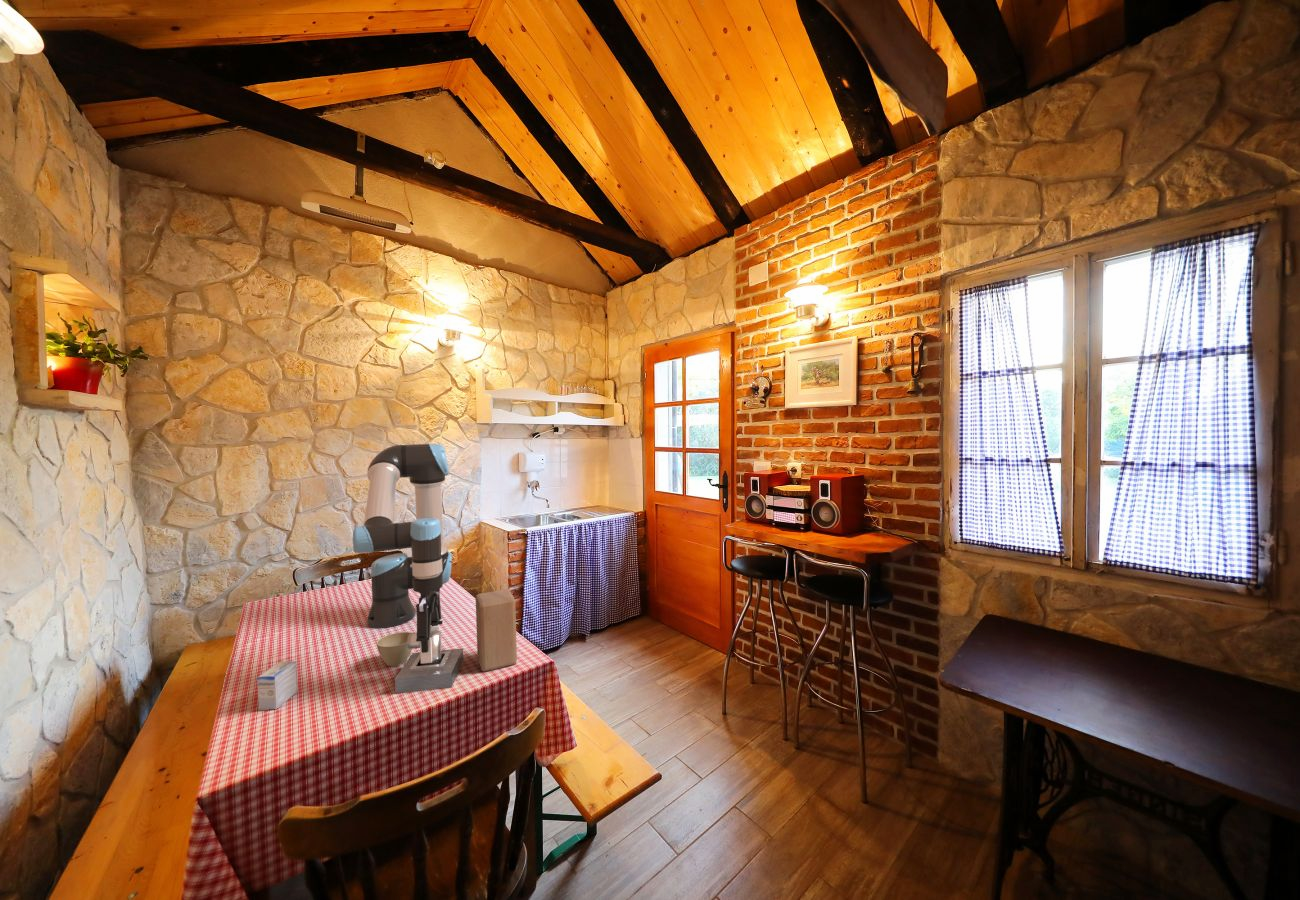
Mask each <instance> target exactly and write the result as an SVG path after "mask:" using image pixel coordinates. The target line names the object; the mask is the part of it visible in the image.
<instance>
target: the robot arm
mask: <svg viewBox="0 0 1300 900" xmlns="http://www.w3.org/2000/svg"><path fill="white" fill-rule="evenodd" d="M366 472H367V475H366V477H367V480H368V481H369V484H368V485H369V486H368V491H367V498H366V499H367V500H366V505H365V511H364V512H365V513H364V520H363V525H361V526H356V527H354V529H353V531H352V547H353V550H354V552H355V553H357V554H365V553H366V554H368V553H378V552H385V551H395V550H403V549H410V550H411V556H408V554H407V553H405V552H398V553H393V554H389V555H385V556H382V557H380V558H377V559H376V560H375V561H373V562H372V563H371V566H370V578H371V599H372V600H371V601H372V602H371V606H370V608H369V612H368V614H367V621H366V622H367V626H368V627H370V628H373V629H385V628H391V627H395V626H400V625H403V624H405V623H408V622H410V621H411V620H413V619H414V618H415V616H416V633H417V639H416V641H417V642H418V641H420V648H419V649H420V651H419V652H420V656H421V664H422V663H431V662H432V642H431V638H430V631H432V630H438V631H441V630H440V628H441V627H440V625H443V621H444V620H442V610H441V598H440V597H441V596H440V593H441V592H440V590H441V588H443V585H445V584H447V583H448V582H449V581H450V577H451V573H452V563H453V562H452V561H453V560H452V559H453V553H452V552H450V551H448V550H449V549H448V548H447V546H445V545H444V540H443V539H444V536H443V510H442V508H443V505H442V484H444V482H445V481H446V477H447V476H449V475H450V471H449V464H448V459H447V453H446V449H445V446H444V445H442V444H439V443H438V444H437V443H420V444H419V443H418V444H417V443H416V444H396V445H392V446H389V447H387V448H385V449H383V450H382V451H380V452H379V453H378V454H377V455H375V456H374V457H373V459H372V460H371V461H370V463H369V465H368V468H367V471H366ZM400 478H409V483H410V484H411V485H412V486H414V494H415V495H414V499H415V517H416V519H415V520H413V521H406V522H396V523H395V522H394V518H395V517H394V516H395V504H396V489H397V482H398V481H399V480H400ZM409 590H413V591H414V592H415V593H418V594H420V597H419V598H418V603H416V605H415V607H414V605H413V603H412V599H411V597H410V594H409ZM415 608H416V610H415ZM415 612H416V613H415Z"/></svg>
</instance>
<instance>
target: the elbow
mask: <svg viewBox="0 0 1300 900" xmlns="http://www.w3.org/2000/svg"><path fill="white" fill-rule="evenodd" d="M430 638H431V642H432V662H431V663H422V666H426V665H436V664H440V663H441V661H442V655H441V650H442V632H441V630H440V631H438V630H432V631H430ZM416 639H417V632H411V633H410V634H409V636H408V639H407V648H408V649H412V650H413V649H420V641H418V642H417V641H416Z"/></svg>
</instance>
